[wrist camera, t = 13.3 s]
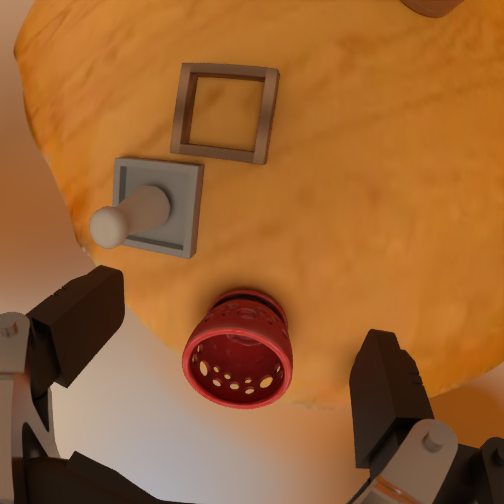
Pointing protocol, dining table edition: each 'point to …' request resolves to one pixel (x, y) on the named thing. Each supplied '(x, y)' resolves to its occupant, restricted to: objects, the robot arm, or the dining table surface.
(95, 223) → the salt shaker
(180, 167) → the tray
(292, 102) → the dining table surface
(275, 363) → the plant pot
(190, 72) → the rectangular frame
